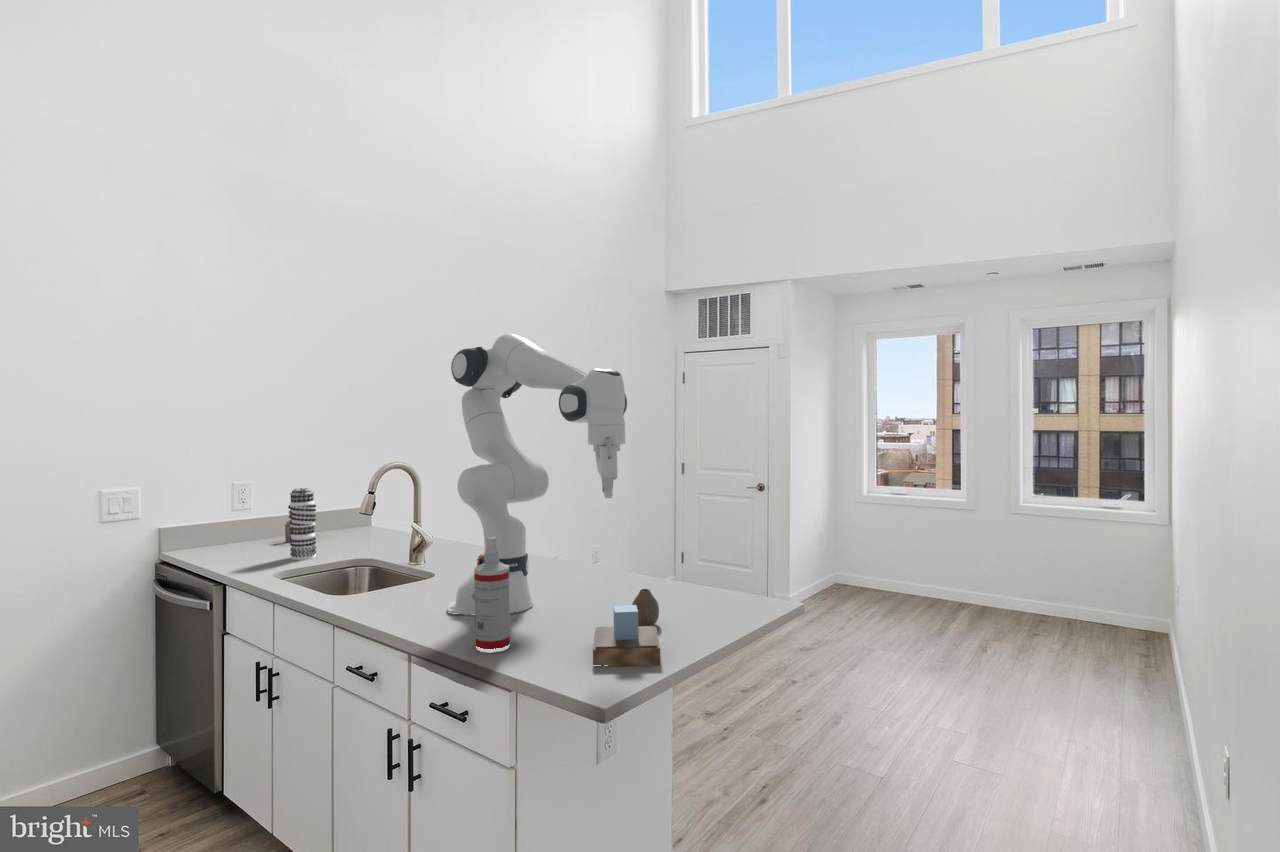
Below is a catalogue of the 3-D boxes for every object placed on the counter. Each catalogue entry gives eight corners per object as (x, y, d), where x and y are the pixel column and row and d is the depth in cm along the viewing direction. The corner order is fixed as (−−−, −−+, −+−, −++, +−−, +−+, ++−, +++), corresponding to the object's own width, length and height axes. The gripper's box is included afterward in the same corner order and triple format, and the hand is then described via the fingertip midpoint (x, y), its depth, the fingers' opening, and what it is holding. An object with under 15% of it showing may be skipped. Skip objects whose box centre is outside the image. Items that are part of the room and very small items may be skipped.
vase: (639, 631, 169) (638, 595, 169) (626, 623, 175) (626, 588, 175) (664, 626, 172) (664, 591, 172) (651, 619, 178) (650, 585, 178)
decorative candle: (303, 560, 250) (301, 490, 249) (283, 559, 253) (281, 489, 252) (323, 555, 258) (321, 487, 257) (303, 553, 261) (302, 487, 261)
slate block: (615, 640, 151) (615, 612, 151) (613, 632, 156) (613, 605, 156) (638, 639, 151) (638, 611, 151) (636, 631, 156) (636, 605, 156)
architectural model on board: (290, 544, 283) (289, 520, 282) (285, 543, 284) (284, 519, 284) (315, 539, 292) (315, 516, 292) (311, 538, 294) (310, 515, 294)
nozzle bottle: (478, 655, 154) (476, 541, 153) (472, 644, 160) (470, 536, 160) (514, 650, 157) (512, 538, 156) (506, 639, 163) (505, 533, 163)
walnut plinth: (593, 666, 146) (592, 647, 146) (595, 643, 160) (595, 626, 160) (660, 665, 147) (660, 646, 147) (656, 642, 161) (656, 625, 161)
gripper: (623, 438, 156) (624, 500, 156) (616, 435, 176) (617, 489, 177) (595, 439, 155) (595, 501, 156) (591, 435, 176) (592, 490, 176)
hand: (607, 495), depth 166 cm, fingers open, 8 cm apart
